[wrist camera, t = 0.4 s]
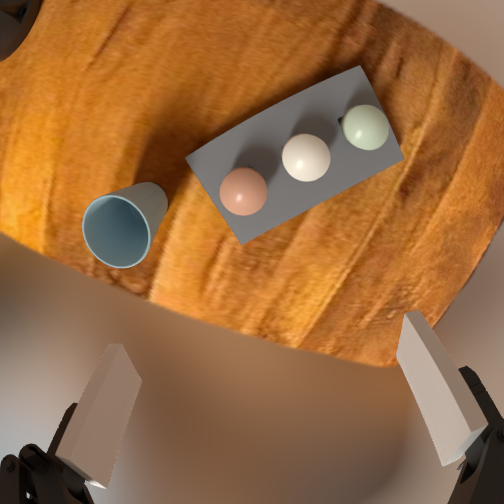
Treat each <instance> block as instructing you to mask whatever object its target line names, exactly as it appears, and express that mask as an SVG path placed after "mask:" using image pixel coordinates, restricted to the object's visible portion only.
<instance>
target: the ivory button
mask: <svg viewBox="0 0 504 504" xmlns="http://www.w3.org/2000/svg"><path fill="white" fill-rule="evenodd" d="M281 159H282V163H283V165H284V167H285V169H286V170H287V172H288V173H289V174H290V175H291V176H292V177H294V178H295V179H297V180H300V181H306V182H307V181H314V180H316V179H318V178H320V177H321V176H323V175H324V174H325V172H326V171H327V169H328V167H329V165H330V152H329V149H328V147H327V145H326V144H325V143H324V142H323V141H322V140H321V139H320V138H318V137H316V136H313V135H310V134H297V135H295V136H293V137H291V138H290V139H288V140H287V141H286V143H285V144H284V146H283V148H282V152H281Z"/></svg>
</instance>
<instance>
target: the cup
mask: <svg viewBox="0 0 504 504" xmlns="http://www.w3.org/2000/svg"><path fill="white" fill-rule="evenodd" d="M167 209H168V199H167V196H166V194H165V192H164V190H163V189H162V188H161V187H160V186H158V185H157V184H154V183H151V182H142V183H138V184H135V185H132V186H129V187H126V188H123V189H120V190H117V191H115V192H112V193H109V194H106V195H103V196H100V197H98V198H96V199H95V200H94V201H92V202H91V203H90V205H89V206H88V207H87V209H86V211H85V213H84V217H83V223H82V229H83V235H84V239H85V241H86V244H87V246H88V247H89V249H90V250H91V252H92V253H93V254H94V255H95V256H96V257H97V258H98V259H99V260H100V261H102V262H103V263H105V264H107V265H109V266H112V267H116V268H128V267H132V266H134V265H136V264H138V263H139V262H141V261H142V260H143V259H144V257H145V256H146V255H147V253H148V251H149V248H150V246H151V244H152V242H153V239H154V237H155V235H156V232H157V230H158V228H159V226H160V224H161V222H162V220H163V218H164V216H165V214H166V212H167Z"/></svg>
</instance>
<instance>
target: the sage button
mask: <svg viewBox="0 0 504 504" xmlns="http://www.w3.org/2000/svg"><path fill="white" fill-rule="evenodd" d="M341 130H342V133H343V136H344V137H345V139H346V140H347V141H348V142H349V143H350V144H351V145H353V146H355V147H358V148H361V149H364V150H374V149H377V148H379V147H380V146H382V145H383V144H384V142H385V141H386V139H387V137H388V133H389V125H388V121H387V119H386V117H385V115H384V114H383V113H382V111H380V110H379V109H378V108H376V107H374V106H371V105H357V106H353V107H351V108H349V109H348V110H347V111H346V112H345V114H344V115H343V117H342V121H341Z"/></svg>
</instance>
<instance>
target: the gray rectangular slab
mask: <svg viewBox="0 0 504 504" xmlns="http://www.w3.org/2000/svg"><path fill="white" fill-rule="evenodd" d="M357 105H371V106H374V107H376V108H378V109H379V110H380V111H382V113H383V114H384V115H385V113H384V110H383V108H382V106H381V104H380V102H379V100H378V98H377V96H376V94H375V92H374V90H373V88H372V86H371V84H370V82H369V81H368V79H367V77H366V75H365V73H364V71H363V70H362V68H361V66H360V65H359V66H357V67H354V68H352V69H350V70H347V71H345V72H342V73H340V74H338V75H335V76H333V77H331V78H329V79H326V80H324V81H322V82H320V83H318V84H315V85H313V86H311V87H309V88H307V89H305V90H303V91H301V92H299V93H297V94H295V95H293V96H291V97H289V98H287V99H285V100H283V101H281V102H279V103H277V104H275V105H273V106H271V107H269V108H267V109H266V110H264V111H262V112H260V113H258V114H256V115H255V116H253V117H251V118H249V119H247V120H246V121H244V122H242V123H240V124H239V125H237V126H235V127H234V128H232V129H230V130H228V131H227V132H225V133H223V134H222V135H220V136H218V137H217V138H215V139H214V140H212V141H210V142H209V143H207V144H205V145H204V146H202V147H201V148H199V149H198V150H196V151H194V152H193V153H191V154H190V155H188V156H187V157H185V160H186V161H187V163H188V164H189V166H190V167H191V169H192V170H193V172H194V173H195V175H196V176H197V178H198V179H199V181H200V182H201V184H202V186H203V187H204V189H205V190H206V192H207V193H208V195H209V196H210V198H211V199H212V201H213V202H214V204H215V205H216V207H217V208H218V210H219V212H220V213H221V215H222V216H223V218H224V219H225V221H226V222H227V224H228V225H229V227H230V228H231V230H232V231H233V233H234V234H235V236H236V237H237V239H238V240H239V242H240V243H241V245H243V244H244V243H246V242H248V241H250V240H252V239H254V238H256V237H257V236H259V235H261V234H263V233H265V232H267V231H269V230H270V229H272V228H274V227H276V226H278V225H280V224H282V223H284V222H285V221H287V220H289V219H291V218H293V217H295V216H297V215H299V214H300V213H302V212H304V211H306V210H308V209H310V208H312V207H314V206H316V205H317V204H319V203H321V202H323V201H325V200H327V199H329V198H331V197H333V196H335V195H336V194H338V193H340V192H342V191H344V190H346V189H348V188H350V187H352V186H354V185H356V184H357V183H359V182H361V181H363V180H365V179H367V178H369V177H371V176H373V175H375V174H377V173H379V172H380V171H382V170H384V169H386V168H388V167H390V166H392V165H394V164H396V163H398V162H400V161H402V160H404V157H403V155H402V152H401V150H400V147H399V145H398V142H397V140H396V137H395V135H394V133H393V130H392V128H391V126H390V124H389V121H388V119H387V117H386V115H385V117H386V119H387V121H388V125H389V133H388V137H387V139H386V141H385V142H384V144H383V145H382V146H380V147H379V148H377V149H374V150H364V149H361V148H358V147H355V146H353V145H351V144H350V143H349V142H348V141H347V140H346V139H345V137H344V136H343V133H342V130H341V121H342V117H343V115H344V114H345V112H346V111H347V110H348V109H349V108H351V107H353V106H357ZM297 134H310V135H313V136H316V137H318V138H320V139H321V140H322V141H323V142H324V143H325V144H326V145H327V147H328V149H329V152H330V165H329V167H328V169H327V171H326V172H325V174H324V175H323V176H321V177H320V178H318V179H316V180H314V181H307V182H306V181H300V180H297V179H295V178H294V177H292V176H291V175H290V174H289V173H288V172H287V170H286V169H285V167H284V165H283V163H282V159H281V152H282V148H283V146H284V144H285V143H286V141H287V140H288V139H290V138H291V137H293V136H295V135H297ZM239 167H249V168H252V169H255V170H256V171H258V172H259V173H260V174H261V175H262V176H263V178H264V180H265V183H266V187H267V198H266V201H265V203H264V205H263V206H262V208H261V209H260V210H258V211H257V212H255V213H253V214H251V215H245V216H242V215H236V214H234V213H232V212H230V211H229V210H227V209H226V208H225V206H224V205H223V203H222V202H221V199H220V186H221V184H222V182H223V180H224V178H225V176H226V175H227V174H228V173H229V172H230V171H232V170H233V169H235V168H239Z"/></svg>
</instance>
